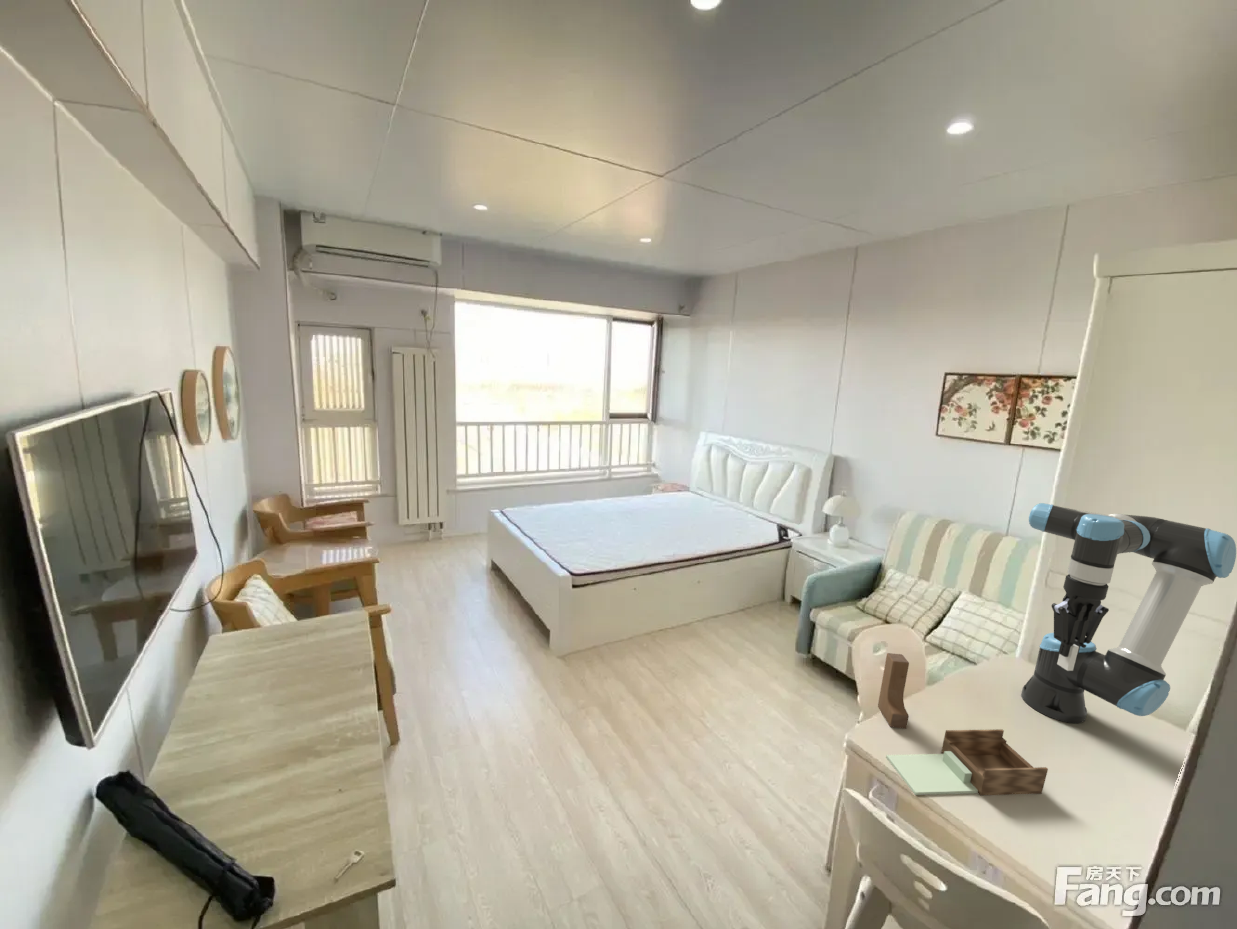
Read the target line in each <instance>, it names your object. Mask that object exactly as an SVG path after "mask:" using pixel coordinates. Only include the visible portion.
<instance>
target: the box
mask: <svg viewBox="0 0 1237 929" xmlns="http://www.w3.org/2000/svg"><path fill="white" fill-rule="evenodd" d="M1004 732H1005V730H1003V729H1001V728H1000V729H996V728H995V729H953V730H952V729H949V730H948V729H946V730H945V732H944V737H943V743H942V747H941V751H940V754H944V751H951V752H952V753H953V754H954V755H955V756H956V757H957V758H958V759H959V760H960V761H961V762H962V763H963V764H964V765H965V766H966V767H967V768H968V770H969V771H970V772H971V773H972V776H971V780H970V782H971V784H972V785H973V786H974V787H975V788H976V789H977V790H978V793H977V794H978V795H979V796H1006V795H1007V796H1009V795H1011V796H1012V795H1041V794H1042V793H1043V791H1044V786H1045V783H1046V778H1047V775H1048V771H1049V768H1048V767H1046V766H1045V767H1044V766H1043V767H1042V766H1040V767H1039V766H1038V767H1034V766H1033V765H1032V764H1030V763H1029V762H1028V761H1027V760H1026V759H1025V758H1024V757H1022V755H1020V754H1019V753H1018V752H1017V751H1016V750H1015V749H1013V747H1012V746H1010V745H1009V744H1008V743H1007V740H1006V739H1005V738H1004Z"/></svg>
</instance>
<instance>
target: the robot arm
mask: <svg viewBox="0 0 1237 929" xmlns="http://www.w3.org/2000/svg"><path fill="white" fill-rule="evenodd" d="M1028 523H1029V525H1030V527H1031V528H1033V529H1034V530H1038V531H1041V532H1042V533H1048V534H1051V535H1055V536H1059V537H1062V538H1066V539H1069V540H1073V541H1074V543H1073V548H1072V551H1071V552H1072V553H1071V555H1070V559H1069V560H1070V561H1069V565H1068V567H1067V575H1065V579H1064V583H1063V590H1064V591H1065V595H1064V596H1063V597H1062V601H1061V602H1060V603H1058V604H1057V603H1056V602H1054V603H1052V604H1051V608H1052V611H1053V632H1048V633H1046V634H1045V635H1044V636H1043V637H1042V640H1041V643H1040V644H1039V650H1038V653H1037V654H1038V655H1037V658H1036V663H1035V669H1034V671H1033V675H1032V676H1031V677H1030V678H1029V679H1028V680H1027V682H1026V683H1025V685H1023V687H1022V689H1021V693H1020V696H1021V698H1022V700H1023V701H1024V702H1025V703H1026V704H1027V705H1028V706H1029V707H1031V708H1032V709H1034V710H1036V711H1037V712H1039V713H1040V714H1043V715H1044V716H1047V717H1049V718H1052V719H1055V720H1057V721H1060V722H1065V723H1069V724H1070V723H1071V724H1081V723H1084V722H1085V721H1086V719H1087V715H1088V710H1087V707H1086V700H1085V692H1087V693H1089V694H1092V695H1094V696H1095V697H1098V698H1100V700H1101V699H1102V700H1103V701H1105V702H1108V703H1109V704H1112V705H1113V706H1115V707H1116V708H1118V709H1120V710H1124V711H1125V712H1128V713H1130V714H1132V715H1134V716H1139V717H1147V716H1150V715H1151V714H1153V713H1154V712H1156V711H1157V710H1158V709H1159V708H1160V707H1162V705H1163V704H1164V702H1165V701H1166V700H1167V698H1168V696H1169V694H1170V690H1171V685H1170V683H1169V682H1167V681H1166V680H1165V677H1166V675H1167V674H1166V672H1165V671H1164V668H1163V667H1162V664H1163V663H1164V661H1165V659H1166V656H1167V655H1168V652H1169V651H1170V648H1171V646H1172V645H1173V643H1174V641H1175V639H1176V637H1177V635H1178V634H1179V631H1180V629H1181V627H1182V625H1183V623H1184V622H1185V619H1186V618H1187V616H1188V613H1189V612H1190V609H1191V608H1192V606H1193V604H1194V601H1195V600H1196V597H1197V595H1198V594H1199V591H1200V590H1201V588H1202V587H1203V586H1207V585H1211V584H1214V581H1215V579H1216V578H1219V579H1224V578H1225V579H1226V578H1227V577H1229V576H1230V574H1231V573H1232V572H1233V570H1234V567H1235V563H1236V558H1237V545H1236V541H1235V540H1234V537H1232V536H1231V535H1229V534H1227V533H1225V532H1221V531H1217V530H1213V529H1211V528H1207V527H1206V528H1205V527H1201V526H1198V525H1197V526H1196V525H1191V524H1188V523H1182V522H1177V521H1173V520H1167V519H1164V518H1159V517H1154V516H1145V515H1134V514H1124V513H1112V514H1103V513H1099V512H1098V513H1096V512H1090V511H1086V510H1085V511H1084V510H1080V509H1079V510H1078V509H1073V508H1068V507H1063V506H1059V505H1055V504H1052V503H1051V504H1049V503H1043V502H1040V503H1037V504H1036V505H1034V506H1033V507H1032V509H1031V510H1030V511H1029V516H1028ZM1126 553H1134V554H1137V555H1140V556H1144V557H1147V558H1149V559H1153V560H1152V561H1151V565H1152V567H1153V569H1155V571H1156V572H1155V574H1154V576H1153V578H1152V580H1151V582H1150V584H1149V586H1148V588H1147V589H1146V592H1145V593H1144V595H1143V597H1142V599H1141V601H1140V603H1139V605H1138V607H1137V609H1136V611H1135V613H1134V614H1133V617H1132V619H1131V622H1130V623H1129V625H1128V626H1127V629H1126V631H1125V633H1124V635H1123V637H1122V638H1121V641H1120V643H1119V645H1118V646H1117V647H1114V648H1109V649H1107V651H1106V653H1105V654H1103V653H1100V652H1098V651H1097V646H1096V643H1094V642H1093V641H1092V640H1093V638H1094V636H1095V634H1096V632H1097V629H1098V628H1099V626H1100V624H1101V622H1102V620H1103V618H1104V617H1105V615H1106V614H1108V612H1109V611H1110V610H1109V608H1108V607H1106V606H1104V605H1102V601H1104V600H1105V599H1106V598H1107V594H1108V591H1109V585H1108V584H1110V583H1111V580H1112V577H1113V572H1114V568H1115V563H1116V560H1117V557H1118V555H1119V554H1120V555H1121V554H1126Z"/></svg>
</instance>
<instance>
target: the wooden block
mask: <svg viewBox="0 0 1237 929" xmlns="http://www.w3.org/2000/svg"><path fill="white" fill-rule="evenodd" d="M909 666H910V662H909V661H908V660H907V659H906V657H905V656H904V655H903V654H900V653H891V652H887V653H886V658H885V663H884V667H883V675H882V678H881V679H882V680H881V686H880V691H879V697H878V703H877V708H878V709H879V711H880V712H881V714H882V716H883V718H884V719H885V720H886V722H887V723H888V724H887V725H888V726H889V727H890V728H894V729H904V730H905V729H907V728H908V723H909V717H910V716H909V713H908V711H907V709H906V706H905V703H904V692H905V689H906V688H905V687H906V682H907V677H908V672H909V671H908V670H909Z"/></svg>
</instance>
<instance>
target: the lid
mask: <svg viewBox="0 0 1237 929" xmlns="http://www.w3.org/2000/svg"><path fill="white" fill-rule="evenodd" d="M885 758H886V760H887V761H888V762H889V763H890V765H891V766H892V767H893V769H894V770H895V771H896V772H897V774H898V775H899V776H900V778H901V779H902V780H903V781H904V783H905V784H906V786H907V787H908V788H909V789H910V791H911V792H912V793H913V795H915V796H920V795H921V796H922V795H955V794H956V795H957V794H958V795H959V794H960V795H961V794H963V795H964V794H978V790H977V789H976V788H975V787H974V786H973V785H972V784H971V782H970V780H971V776H972V773H971V772H970V771H969V770H968V768H967V767H966V766H965V765H964V764H963V763H962V762H961V761H960V760H959V759H958V758H957V757H956V756H955V755H954V754H953V753H952V752H951V751H944V754H941V753H922V754H920V753H917V754H916V753H915V754H914V753H913V754H911V753H909V754H886V755H885Z"/></svg>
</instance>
